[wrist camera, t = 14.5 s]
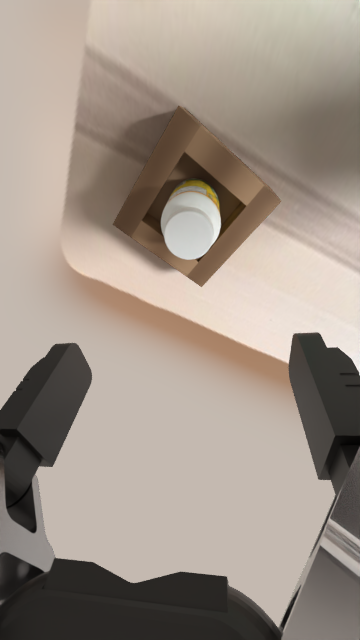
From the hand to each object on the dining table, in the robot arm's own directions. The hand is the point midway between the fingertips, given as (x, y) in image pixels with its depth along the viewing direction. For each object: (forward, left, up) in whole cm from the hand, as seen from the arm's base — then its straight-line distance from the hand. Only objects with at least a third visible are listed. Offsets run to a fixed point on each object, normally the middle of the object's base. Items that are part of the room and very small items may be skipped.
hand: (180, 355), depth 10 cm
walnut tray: (0, +1, -26) cm, 26 cm away
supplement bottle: (0, +1, -24) cm, 24 cm away
